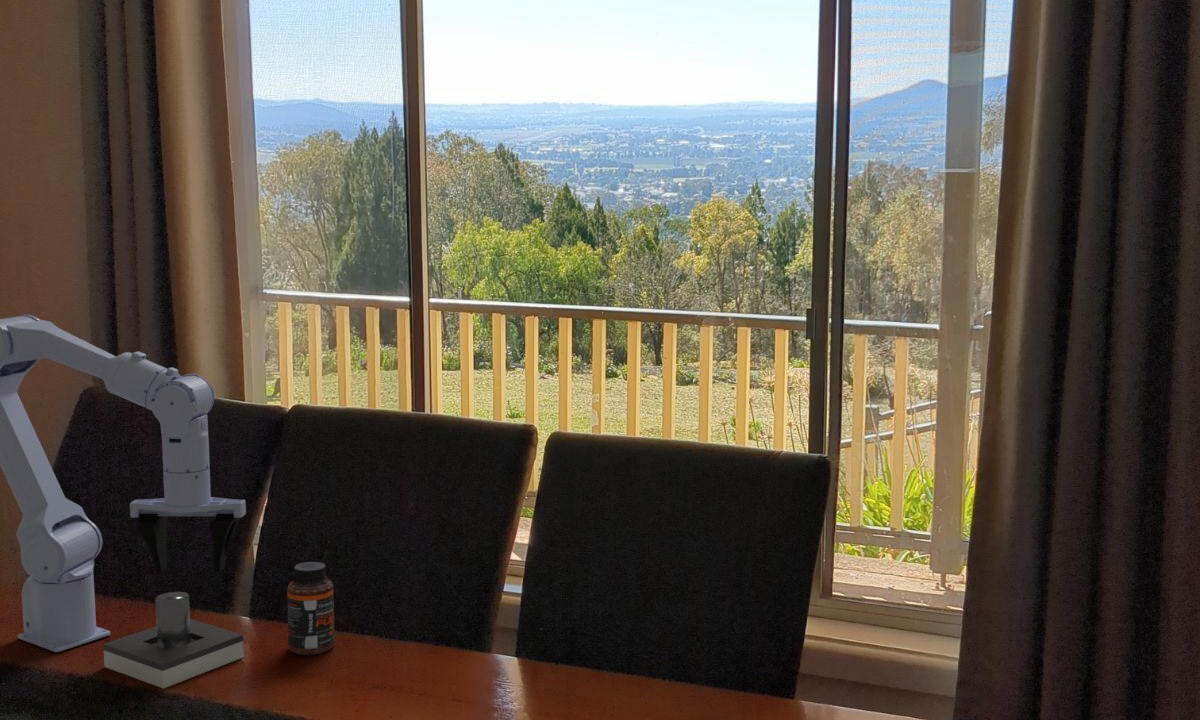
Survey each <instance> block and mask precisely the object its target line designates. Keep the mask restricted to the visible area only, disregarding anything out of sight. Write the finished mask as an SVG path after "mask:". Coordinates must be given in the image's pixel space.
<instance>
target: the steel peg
mask: <svg viewBox="0 0 1200 720" xmlns="http://www.w3.org/2000/svg"><path fill="white" fill-rule="evenodd" d="M154 600H155V616H156V618H155V620H156V621H155V622H156V626H157V643H158V647H160V648H163V649H166V650H172V649H174V648H177V647H180V646H183V645H186V644H188V643H191V633H190V619H191V617H190V616H191V612H190V611H191V610H190V594H189V593H187V592H185V591H184V592H183V591H170V592H165V593H162V594H159V595H157V596H156V597H155V598H154Z"/></svg>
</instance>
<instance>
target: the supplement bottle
mask: <svg viewBox="0 0 1200 720" xmlns="http://www.w3.org/2000/svg"><path fill="white" fill-rule="evenodd" d="M293 571H294V572H293V576H294V579H293V580H292V581H291V582H289V584H288V586H287V587H286V588H287V589H286V590H287V596H286V597H287V632H288V633H287V635H288V637H287V639H288V649H289V651H290V652H292V653H293V654H295V655H301V656H315V655H320V654H325V653H326V652H328V651H330V650H331V649H332V648H333V647H334V646H335V613H334V612H335V610H334V605H335V604H334V597H335V596H334V594H335V593H334V584H333V582H332V580H331V579H329V577H327V576H326V574H327V573H326V572H327V570H326V565H325V563H323V562H320V561H319V562H317V561H307V562H302V563H301V562H300V563H297V564H296V565H294V567H293Z"/></svg>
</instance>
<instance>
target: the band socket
mask: <svg viewBox="0 0 1200 720" xmlns="http://www.w3.org/2000/svg"><path fill="white" fill-rule="evenodd" d="M190 633H191V643H188V644H186V645H183V646H180V647H177V648H174V649H172V650H166V649H163V648H160V647H158V643H157V625H155V626H153V627H150V628H147V629H145V630H141V631H138V632H135V633H133V634H129V635H127V636H124V637H123V636H122V637H121V638H118V639H115V640H112V641H109V642H105V643H103V645H102V646H103V663H104V668H106V669H109V670H112V671H114V672H117V673H121V674H123V675H126V676H128V677H131V678H134V679H137V680H139V681H141V682H145V683H147V684H150V685H153V686H155V687H158V688H160V689H166V688H169V687H171V686H174V685H177V684H179V683H182V682H184V681H186V680H189V679H192V678H193V677H196V676H199V675H202V674H204V673H206V672H210V671H212V670H214V669H218V668H219V667H222V666H224V665H225V666H226V665H227V664H230V663H233V662H235V661H238V660H241V659H242V658H243V659H244V657H245V653H244V652H245V651H244V650H245V649H244V648H245V647H244V634H241V633H238V632H235V631H231V630H228V629H226V628H222V627H220V626H219V627H218V626H214V625H212V624H209V623H206V622H204V621H203V622H202V621H200V620H196V619H193V618H190Z"/></svg>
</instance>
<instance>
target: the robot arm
mask: <svg viewBox="0 0 1200 720" xmlns="http://www.w3.org/2000/svg"><path fill="white" fill-rule="evenodd" d="M146 358H147V354H146V353H143V352H142V351H135V352H130V351H129V352H128V351H126V352H123V353H121V354H118V355H117V356H115V355H114V354H112V353H109V352H108V351H106V350H103V349H101V348H100V347H98V346H95V345H93V344H91V343H89V342H88V341H86V340H84V339H81V338H79V337H77V336H76V335H73V334H71V333H69V332H68V331H66V330H63V329H61V328H60V327H58V326H56V325H55V324H54V323H53V322H52V321H48V320H45V319H40V318H38V317H36V316H34V315H31V314H20V315H17V316H14V317H13V316H12V317H5V318H0V468H1V471H2V473H3V475H4V477H5V479H6V482H7V484H8V486H9V488H10V489H11V490H10V491H11V492H12V495H13V497H14V498H15V501H16V503H17V506H18V508H19V509H20V512H21V514H22V518H21V521H20V523H19V526H18V527H17V530H16V535H15V537H16V539H17V541H18V543H19V547H20V562H21V565H22V567H23V569H24V571H25V572H26V573H27V575H29V576H28V577H27V578H26V580H25V581H24V583H23V586H22V589H21V606H22V607H21V608H22V620H23V622H22V623H23V632H22V633H18V634H17V638H18V639H19V640H22V641H24V642H26V643H27V642H28V643H29V644H32V645H35V646H38V647H40V648H43V649H46V650H49V651H51V652H54V653H59V652H63V651H66V650H68V649H72V648H74V647H78V646H82V645H83V644H87V643H90V642H93V641H96V640H98V639H101V638H105V637H108V636H110V635H111V631H110V630H108V629H105V628H102V627H98V626H97V619H96V617H97V616H96V615H97V614H96V601H95V600H96V598H95V582H94V581H95V579H94V568H95V558H97V556H98V555H99V554H100V553H101V550H102V549H103V548H102V547H103V536H102V533H101V531H100V529H99V528H98V526H97V525H96V524H95V523H94V522H93V521H91V520H90V519H89V518H88V516H87V515H86V513H85V511H84V509H83V507H82V506H81V505H79V504H78V503H75V502H74V501H72V500H70V499H68V498H67V497H66V496H65V494H64V492H63V489H62V488H61V486H60V483H59V481H58V479H57V477H56V474H55V473H54V469H53V468H52V465H51V463H50V461H49V460H48V457H47V455H46V453H45V450H44V448H43V446H42V444H41V441H40V440H39V438H38V436H37V433H36V430H35V429H34V427H33V425H32V422H31V420H30V418H29V415H28V413H27V411H26V409H25V407H24V404H23V403H22V401H21V398H20V396H19V393H18V390H19V388H20V385H21V384H22V382H23V381H24V378H25V376H26V374H27V373H28V372H30V370H31V369H32V368H33V367H34V366H35V365H36V364H37V363H38V362H39V361H40V360H41V359H42V360H43V359H44V360H45V359H46V360H50V361H53V362H56V363H58V364H62V365H64V366H67V367H69V368H72V369H74V370H77V371H79V372H82V373H84V374H85V373H86V374H88V375H91V376H94V377H96V378H99V379H101V380H103V383H104V386H105V388H106V390H107V392H108V393H111V394H113V395H115V396H117V397H120V398H122V399H125V400H127V401H129V402H131V403H133V404H136V405H139V406H141V407H143V408H145V409H147V410H149V411H152V413H153V415H154V417H155V418H156V419H157V421H158V422H159V424H160V433H161V447H162V449H161V450H162V469H163V472H162V473H163V474H162V475H163V491H164V492H163V494H164V498H163V497H162V498H159V497H158V498H151V499H150V498H145V499H134V500H132V501H131V502H130V503H129V515H130V518H138V521H137V522H135V527H136V530H137V531H138V533H139V534H140V535H141V537H142V538H143V540H144V542H145V544H146V546H147V548H148V551H149V552H150V555H151V557H152V560H153V563H154V568H155V571H156V572H160V573H161V572H163V571H164V570H166V569H167V568H168V550H167V547H168V545H167V531H168V529H167V527H168V519H169V517H215V518H213V520H211V521H210V522H209V527H210V533H211V537H212V544H213V568H214V572H216V573H220V572H222V571H223V570H224V569H225V568H226V562H227V560H226V559H227V555H228V550H229V548H230V547H229V546H230V543H231V541H232V540H231V539H232V537H233V534H234V532H235V530H236V527H237V526H238V523H239V521H240V518H243V517H244V516H245V515H246V514H247V508H246V507H247V505H246V504H247V503H246V499H233V498H224V497H212V496H211V495H212V493H211V473H210V472H211V470H210V469H211V468H210V445H209V444H210V443H209V422H208V413H209V412H210V411H211V410H212V408H213V406H214V403H215V392H214V388H213V386H212V385H211V384H210V382H209V381H208V380H206V378H204V377H202V376H200V375H199V374H198V373H187V374H184V375H180V373H179V370H178V369H177V368H175V367H168V368H167V367H164V366H163V365H160V364H158V363H155V362H153V361H150V360H148V359H146Z"/></svg>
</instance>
